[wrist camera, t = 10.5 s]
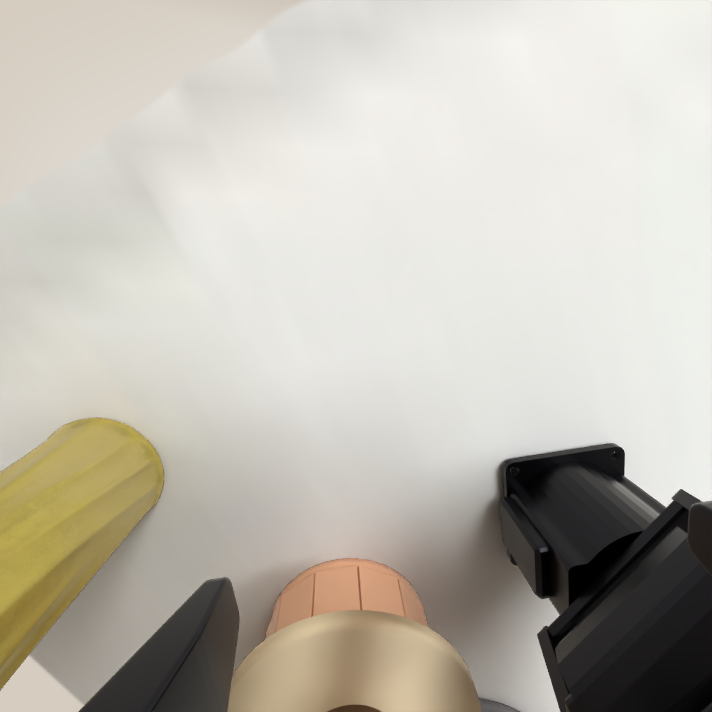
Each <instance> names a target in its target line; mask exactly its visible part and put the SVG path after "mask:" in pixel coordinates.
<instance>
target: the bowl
mask: <svg viewBox="0 0 712 712" xmlns="http://www.w3.org/2000/svg"><path fill="white" fill-rule="evenodd" d="M347 610H370V611H378V612H386V613H390V614H394V615H399V616H403V617H405V618H408V619H411V620H413V621H416V622H418V623H420V624H422V625H424V626H426V627H428V623H427V620H426V616H425V612H424V608H423V605H422V603H421V602H420V600H419V598H418V595H417V593H416V592H415V590H414V588H413V587H412V586H411V584H410V583H409V582H408V581H407V580H406V579H405V578H404V577H403V576H402V575H401V574H399V573H398V572H396V571H395V570H393V569H391V568H389V567H388V566H386V565H383V564H380V563H378V562H374V561H370V560H365V559H357V558H346V559H336V560H331V561H327V562H324V563H321V564H318V565H315V566H313V567H311V568H309V569H307V570H305V571H304V572H302V573H301V574H299V575H298V576H297V577H295V578H294V579H293V580H292V581H291V582H290V583H289V584H288V585H287V586H286V587H285V588H284V590H283V591H282V592H281V594H280V595H279V597H278V599H277V601H276V603H275V606H274V609H273V614H272V619H271V621H270V624H269V626H268V628H267V633H266V638H265V639H267V638H268V637H269V636H271V635H273V634H274V633H276V632H278V631H279V630H281V629H282V628H285V627H287V626H289V625H291V624H293V623H295V622H298V621H300V620H303V619H306V618H310V617H313V616H316V615H321V614H325V613H330V612H337V611H347ZM428 628H429V627H428Z"/></svg>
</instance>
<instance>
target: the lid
mask: <svg viewBox="0 0 712 712" xmlns="http://www.w3.org/2000/svg"><path fill="white" fill-rule="evenodd" d="M227 712H482V710H481V705H480V702H479V698H478V695H477V692H476V689H475V686H474V683H473V680H472V678H471V675H470V672H469V669H468V668H467V666H466V664H465V662H464V660H463V658H462V657H461V656H460V655H459V653H458V652H457V651H456V650H455V648H454V647H453V646H452V645H451V644H450V643H449V642H448V641H446V640H445V639H444V638H443V637H442V636H440V635H439V634H437V633H436V632H435V631H433V630H432V629H430V628H428V627H426V626H424V625H422V624H420V623H418V622H416V621H413V620H411V619H408V618H405V617H403V616H399V615H394V614H390V613H386V612H378V611H370V610H347V611H337V612H330V613H325V614H321V615H316V616H313V617H310V618H306V619H303V620H300V621H298V622H295V623H293V624H291V625H289V626H287V627H285V628H282V629H281V630H279V631H278V632H276V633H274V634H273V635H271V636H269V637H268V638H267V639H265V640H264V641H263V642H261V643H260V644H259V645H258V646H256V647H255V648H254V649H253V650H252V651H251V652H250V653H249V654H248V655H247V657H246V658H245V659H244V660H243V661H242V663H241V664H240V666H239V667H238V668H237V670H236V671H235V673H234V675H233V677H232V682H231V690H230V697H229V704H228V711H227Z"/></svg>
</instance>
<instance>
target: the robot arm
mask: <svg viewBox="0 0 712 712" xmlns="http://www.w3.org/2000/svg"><path fill="white" fill-rule="evenodd" d="M614 451H615V453H614V454H613V455H612V456H611V454H612V453H613V452H614ZM624 463H625V453H624V450H623V449H622V448H621V447H619V446H618V445H616V444H614V443H610V444H604V445H597V446H591V447H584V448H578V449H571V450H565V451H558V452H552V453H546V454H539V455H533V456H526V457H520V458H513V459H509V460H507V461H506V462H505V463H504V464H503V468H502V470H503V487H504V498H502V500H501V502H500V511H501V527H502V540H503V542H504V543H505V545H506V547H507V553H508V557H509V559H510V561H511V562H512V563H513V564H514V565H518V566H519V568H520V570H521V571H522V573H523V575H524V576H525V578H526V580H527V581H528V583H529V585H530V586H531V588H532V590H533V591H534V593H535V595H537V596H538V597H539V598H541V599H545V598H549V599H550V601H551V602H552V604H553V605H554V607H555V608H556V610H557V612H558V613H559V615H560V616H559V617H558V618H557V619H556V620H555V621H554V622H553V623H552V624H551V625H550V626H549V627H548V626H545V627H544V628H543V629H542V630H541V631H540V632H539V633H538V634H537V636H538V640H539V643H540V646H541V649H542V653H543V656H544V659H545V662H546V666H547V669H548V672H549V675H550V679H551V682H552V685H553V689H554V692H555V695H556V698H557V702H558V705H559V708H560V711H561V712H712V501H706V502H702V501H700V500H699V499H697V498H695V497H694V496H692V495H690V494H689V493H687V492H685V491H684V490H682V489H680V490H679V491H678V492H677V493H676V494H675V495H674V496H673V497H672V499H673V502H672V503H671V504H670V505H669V506H668V507H667V508H666V507H665V506H663V505H662V504H661V503H659V502H658V501H657V500H655V499H654V498H653V497H651V496H650V495H649V494H647V493H646V492H645V491H643V490H642V489H641V488H639V487H638V486H636V485H635V484H634V483H632V482H631V481H630V480H628V479H627V478H626V477H624ZM512 467H516V469H515V470H514V471H510V469H511V468H512ZM238 631H239V611H238V607H237V603H236V599H235V595H234V591H233V587H232V583H231V581H230V579H229V578H227V577H223V578H217V579H210V580H207V581H206V582H205V583H203V584H202V585H201V586H200V587H199V589H198V590H197V591H196V592H195V593H194V594H193V595H192V596H191V597H190V598H189V599H188V600H187V601H186V602H185V603H184V604H183V605H182V606H181V607H180V608H179V609H178V610H177V611H176V612H175V613H174V614H173V615H172V616H171V617H170V618H169V619H168V620H167V621H166V622H165V623H164V624H163V625H162V626H161V628H160V629H159V630H158V631H157V632H156V633H155V634H154V635H153V636H152V637H151V638H150V639H149V640H148V641H147V642H146V643H145V644H144V645H143V646H142V647H141V648H140V649H139V650H138V651H137V652H136V653H135V654H134V655H133V656H132V657H131V658H130V659H129V660H128V661H127V662H126V663H125V664H124V665H123V667H122V668H121V669H120V670H119V671H118V672H117V673H116V674H115V675H114V676H113V677H112V678H111V679H110V680H109V681H108V682H107V683H106V684H105V685H104V686H103V687H102V688H101V689H100V690H99V691H98V692H97V693H96V694H95V695H94V696H93V697H92V698H91V699H90V700H89V701H88V702H87V703H86V704H85V706H84V707H83V708H82V709H81V710H80V711H79V712H227V711H228V704H229V697H230V690H231V682H232V675H233V667H234V660H235V653H236V645H237V638H238Z"/></svg>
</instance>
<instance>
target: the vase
mask: <svg viewBox="0 0 712 712" xmlns="http://www.w3.org/2000/svg"><path fill="white" fill-rule="evenodd" d="M163 483H164V472H163V466H162V463H161V460H160V458H159V455H158V453H157V452H156V450H155V449H154V447H153V446H152V445H151V444H150V443H149V441H148V440H147V439H145V438H144V437H143V436H142V435H141V434H139V433H138V432H137V431H136V430H134V429H133V428H131V427H130V426H128V425H126V424H123V423H121V422H118V421H114V420H110V419H104V418H88V419H82V420H77V421H74V422H71V423H68V424H66V425H64V426H63V427H61V428H60V429H58V430H57V431H56V432H54V433H53V434H52V435H51V436H50V437H49V438H48V440H47V441H45V442H44V443H42V444H41V445H39V446H38V447H37V448H35V449H34V450H32V451H31V452H29V453H28V454H27V455H25V456H24V457H22V458H21V459H19V460H18V461H17V462H15V463H13V464H12V465H10V466H9V467H7V468H5V469H4V470H2V471H1V472H0V690H1V688H3V686H4V685H5V684H6V682H7V681H8V680H9V679H10V677H11V676H12V675H13V674H14V673H15V671H16V670H17V669H18V668H19V666H20V665H21V664H22V663H23V661H24V660H25V659H26V658H27V656H28V655H29V654H30V653H31V652H32V650H33V649H34V648H35V647H36V645H37V644H38V643H39V642H40V640H41V639H42V638H43V637H44V636H45V634H46V633H47V632H48V631H49V629H50V628H51V627H52V626H53V624H54V623H55V622H56V621H57V620H58V618H59V617H60V616H61V615H62V614H63V612H64V611H65V610H66V609H67V607H68V606H69V605H70V604H71V603H72V601H73V600H74V599H75V598H76V597H77V595H78V594H79V593H80V592H81V591H82V589H83V588H84V587H85V586H86V585H87V583H88V582H89V581H90V580H91V578H92V577H93V576H94V575H95V574H96V572H97V571H98V570H99V569H100V568H101V566H102V565H103V564H104V563H105V562H106V561H107V559H108V558H109V557H110V556H111V555H112V553H113V552H114V551H115V550H116V549H117V548H118V546H119V545H120V544H121V543H122V542H123V540H124V539H125V538H126V537H127V536H128V535H129V533H130V532H131V531H132V530H133V529H134V527H135V526H136V525H137V524H138V522H139V521H140V520H141V519H142V518H143V516H144V515H145V514H146V513H147V512H148V511H149V510H150V509H151V508H152V507H153V506H154V505H155V504H156V503H157V501H158V499H159V497H160V494H161V491H162V488H163Z"/></svg>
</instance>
